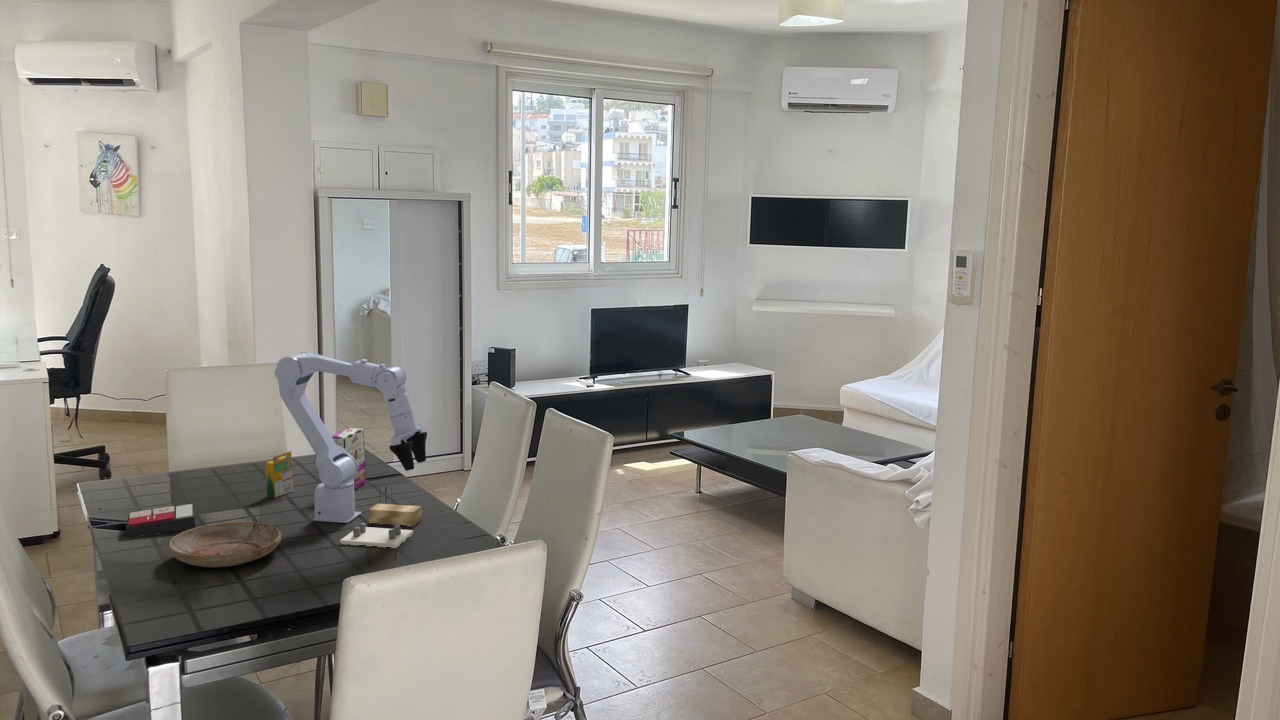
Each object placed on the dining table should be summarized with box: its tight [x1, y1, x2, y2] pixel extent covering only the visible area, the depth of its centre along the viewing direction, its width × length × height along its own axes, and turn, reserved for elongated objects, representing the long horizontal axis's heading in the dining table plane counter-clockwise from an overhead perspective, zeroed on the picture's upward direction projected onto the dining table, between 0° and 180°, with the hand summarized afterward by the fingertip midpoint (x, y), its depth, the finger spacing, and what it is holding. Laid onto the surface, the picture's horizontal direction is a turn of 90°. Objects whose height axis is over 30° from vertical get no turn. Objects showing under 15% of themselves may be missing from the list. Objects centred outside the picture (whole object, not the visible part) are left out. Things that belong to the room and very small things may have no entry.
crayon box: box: [265, 450, 294, 499], centre depth 262 cm, size 7×3×12 cm, turn 159°
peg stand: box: [339, 522, 414, 549], centre depth 227 cm, size 14×10×3 cm
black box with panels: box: [125, 503, 197, 538], centre depth 234 cm, size 11×4×15 cm
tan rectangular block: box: [368, 503, 423, 527], centre depth 240 cm, size 12×5×4 cm, turn 81°
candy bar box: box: [331, 427, 367, 491], centre depth 267 cm, size 11×5×16 cm, turn 168°
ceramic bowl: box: [168, 521, 282, 568], centre depth 214 cm, size 23×24×5 cm
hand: (415, 465), depth 237 cm, fingers open, 7 cm apart
